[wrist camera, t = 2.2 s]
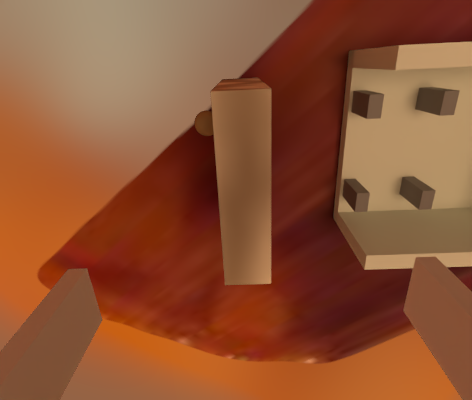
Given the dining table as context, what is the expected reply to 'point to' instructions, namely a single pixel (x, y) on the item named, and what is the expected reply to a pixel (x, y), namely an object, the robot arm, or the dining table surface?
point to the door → (242, 175)
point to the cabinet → (407, 155)
